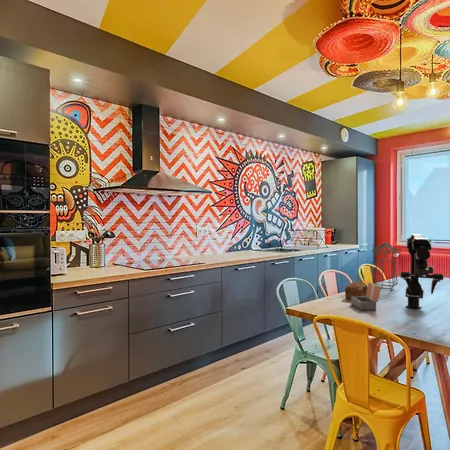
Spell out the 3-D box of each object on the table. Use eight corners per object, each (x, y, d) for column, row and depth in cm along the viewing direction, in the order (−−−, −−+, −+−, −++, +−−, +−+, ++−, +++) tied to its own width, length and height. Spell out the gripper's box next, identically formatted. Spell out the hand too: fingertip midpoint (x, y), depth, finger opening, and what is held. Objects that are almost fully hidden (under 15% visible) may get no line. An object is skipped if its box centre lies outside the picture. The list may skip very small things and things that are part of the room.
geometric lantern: (394, 293, 245) (393, 243, 244) (371, 290, 255) (370, 243, 254) (400, 289, 257) (399, 242, 256) (378, 287, 267) (377, 241, 266)
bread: (352, 294, 242) (352, 280, 241) (368, 296, 235) (368, 281, 235) (344, 299, 226) (344, 284, 226) (361, 301, 220) (361, 286, 220)
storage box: (365, 304, 212) (365, 296, 212) (376, 310, 198) (376, 302, 198) (351, 304, 212) (351, 296, 212) (360, 310, 198) (360, 302, 198)
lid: (365, 296, 212) (367, 296, 212) (376, 302, 198) (377, 302, 198) (368, 281, 212) (370, 282, 212) (379, 286, 198) (380, 286, 198)
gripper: (401, 259, 174) (401, 291, 171) (445, 261, 167) (446, 294, 164) (400, 262, 184) (400, 291, 181) (440, 264, 177) (441, 295, 174)
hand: (421, 293), depth 175 cm, fingers open, 9 cm apart
